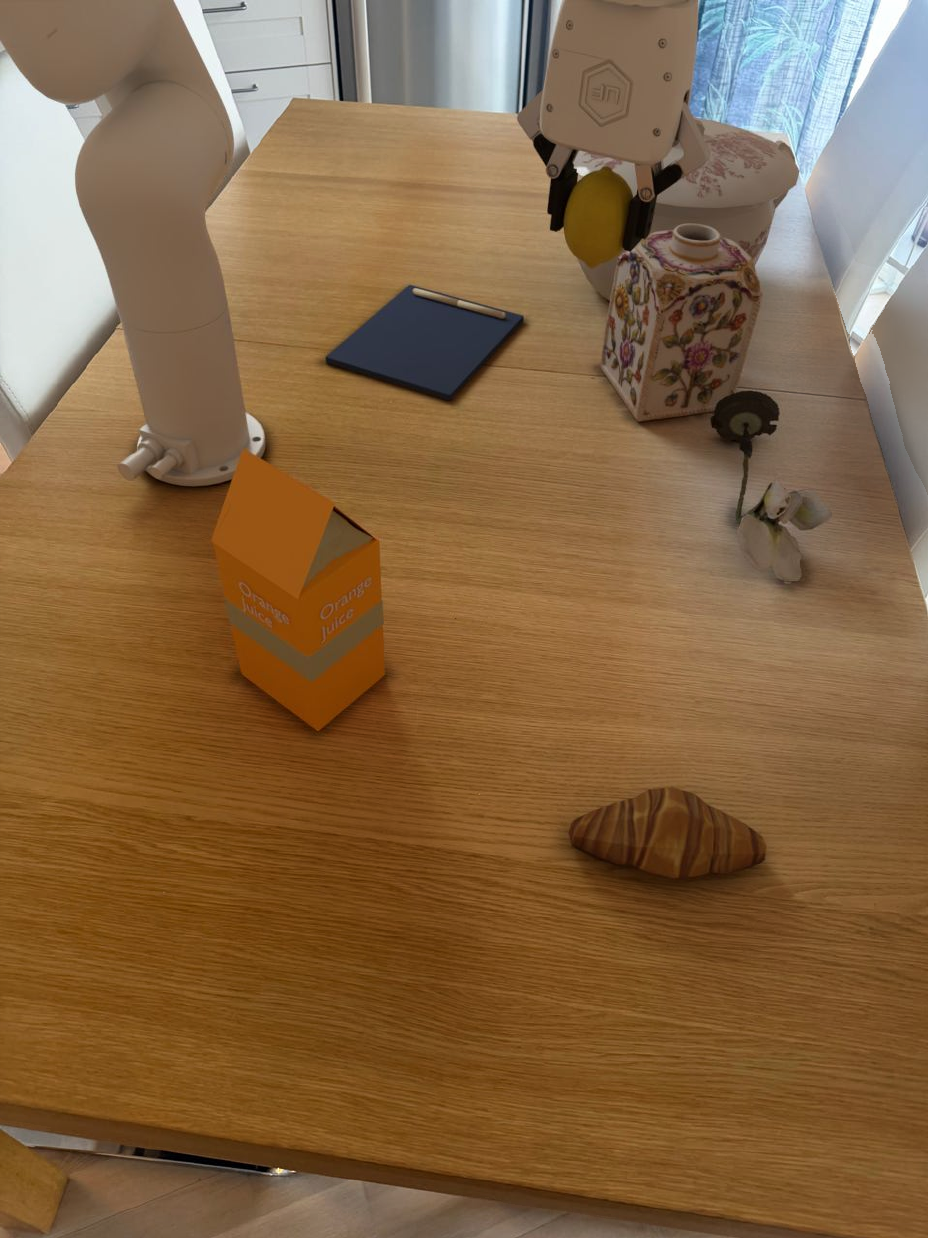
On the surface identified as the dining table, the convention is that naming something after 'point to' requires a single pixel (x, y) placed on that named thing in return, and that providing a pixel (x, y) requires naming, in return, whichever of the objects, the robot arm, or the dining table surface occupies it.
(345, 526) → the orange juice
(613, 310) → the decorative jar
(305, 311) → the dining table surface
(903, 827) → the dining table surface
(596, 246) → the lemon
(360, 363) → the clipboard
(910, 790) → the dining table surface
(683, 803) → the croissant
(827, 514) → the artificial flower
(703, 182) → the chamber pot
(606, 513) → the dining table surface
